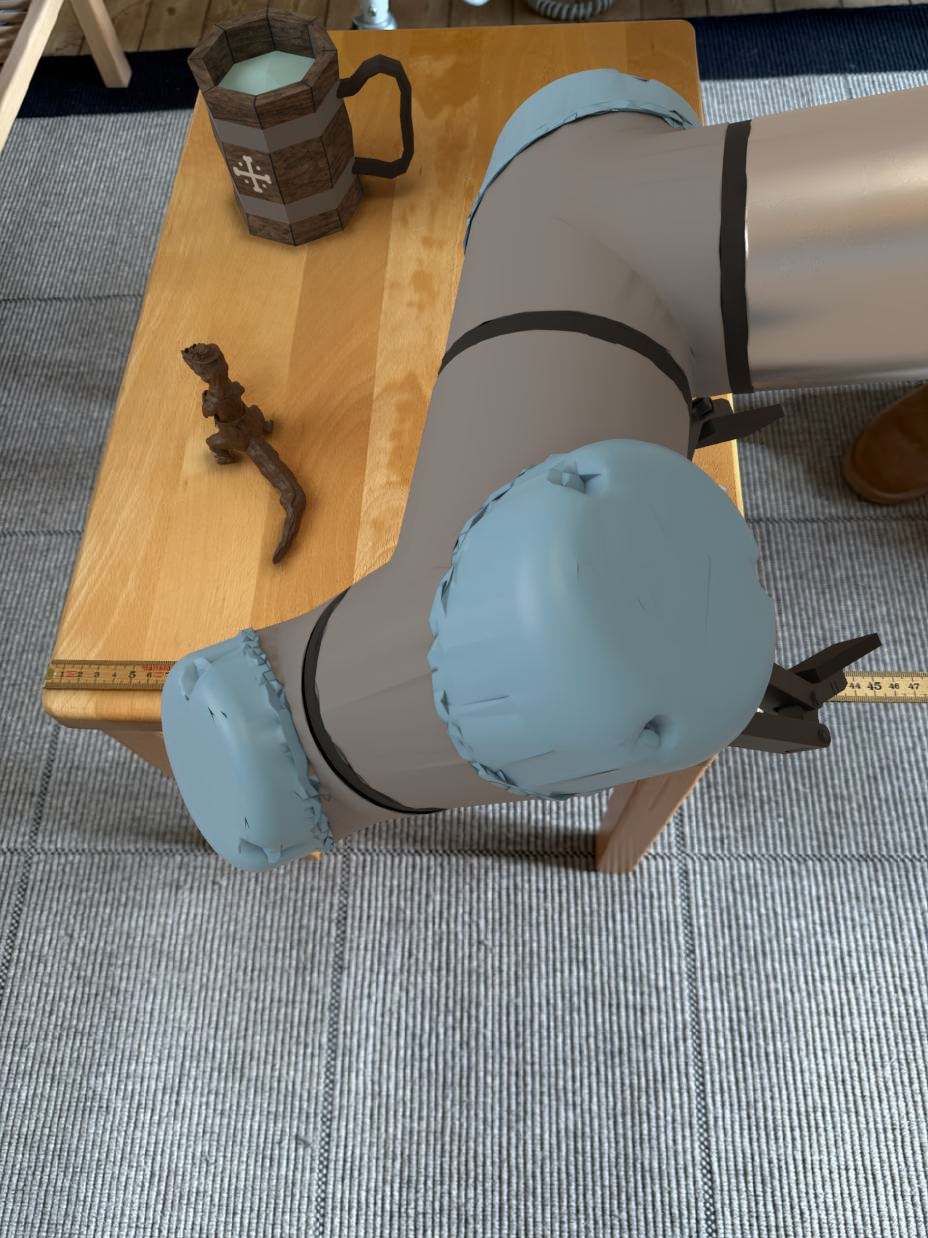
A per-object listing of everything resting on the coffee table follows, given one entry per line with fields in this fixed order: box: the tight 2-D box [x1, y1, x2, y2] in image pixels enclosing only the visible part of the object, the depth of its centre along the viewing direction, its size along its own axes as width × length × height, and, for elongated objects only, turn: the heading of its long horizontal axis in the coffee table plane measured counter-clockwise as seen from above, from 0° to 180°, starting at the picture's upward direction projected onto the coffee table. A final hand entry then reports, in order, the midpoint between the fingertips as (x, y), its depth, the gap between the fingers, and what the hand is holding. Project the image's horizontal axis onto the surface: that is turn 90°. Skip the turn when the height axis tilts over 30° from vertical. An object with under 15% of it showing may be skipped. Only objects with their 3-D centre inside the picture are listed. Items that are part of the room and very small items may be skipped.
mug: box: [186, 6, 415, 247], centre depth 84 cm, size 20×14×15 cm
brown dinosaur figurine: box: [180, 342, 307, 565], centre depth 71 cm, size 15×10×12 cm, turn 174°
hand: (810, 531), depth 49 cm, fingers open, 13 cm apart
